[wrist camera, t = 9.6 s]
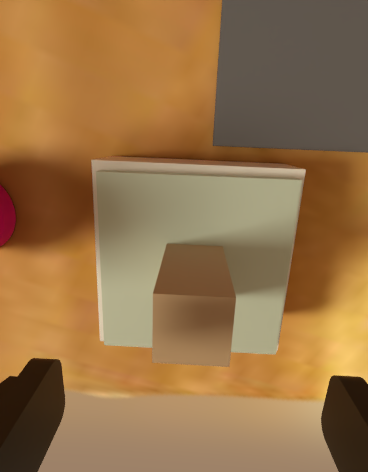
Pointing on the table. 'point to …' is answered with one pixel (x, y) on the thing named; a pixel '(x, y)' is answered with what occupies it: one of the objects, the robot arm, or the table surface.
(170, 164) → the dish
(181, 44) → the table surface
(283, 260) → the lid
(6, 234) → the pepper mill
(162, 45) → the table surface
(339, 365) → the table surface
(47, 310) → the table surface
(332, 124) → the mat
